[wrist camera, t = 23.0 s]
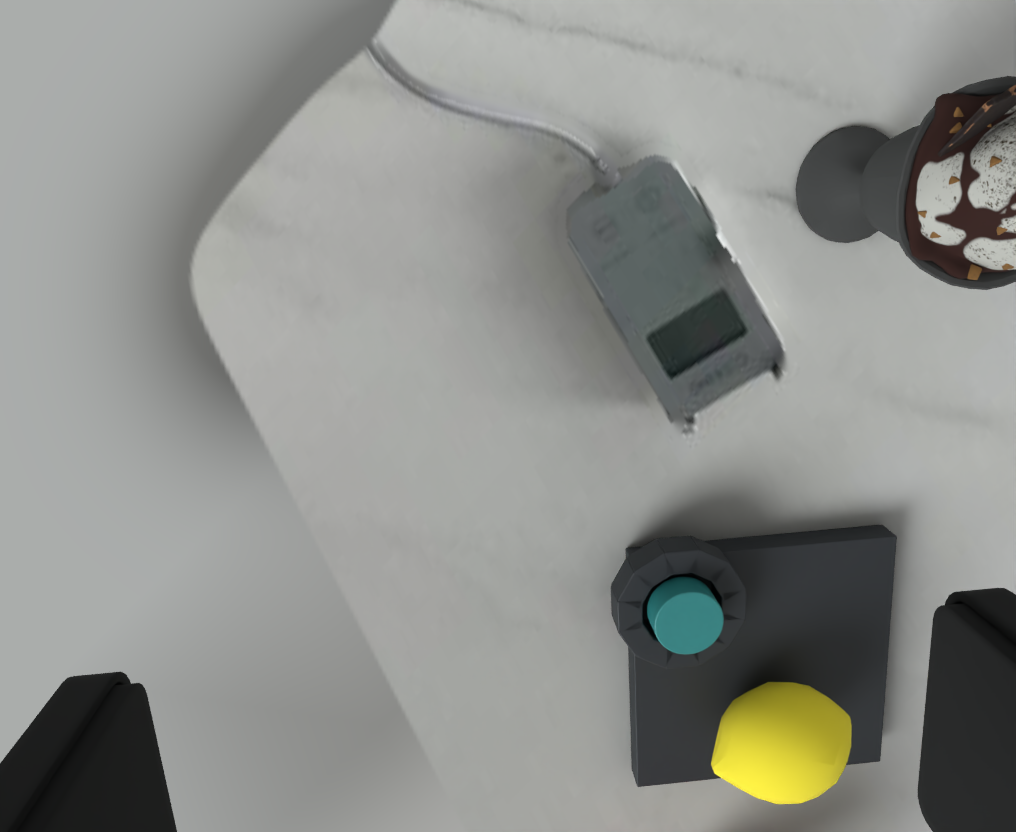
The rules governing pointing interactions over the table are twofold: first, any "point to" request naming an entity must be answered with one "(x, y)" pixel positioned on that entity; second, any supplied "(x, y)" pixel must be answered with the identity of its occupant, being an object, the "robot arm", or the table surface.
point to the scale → (757, 637)
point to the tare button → (685, 615)
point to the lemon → (782, 743)
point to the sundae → (926, 186)
